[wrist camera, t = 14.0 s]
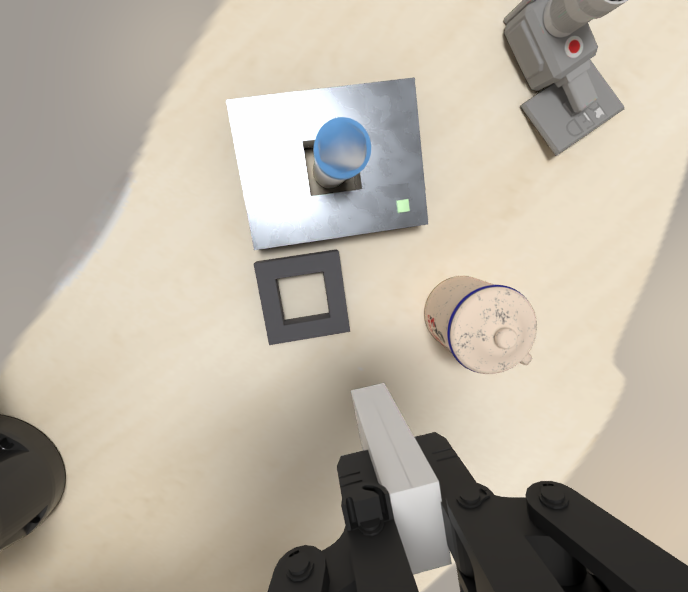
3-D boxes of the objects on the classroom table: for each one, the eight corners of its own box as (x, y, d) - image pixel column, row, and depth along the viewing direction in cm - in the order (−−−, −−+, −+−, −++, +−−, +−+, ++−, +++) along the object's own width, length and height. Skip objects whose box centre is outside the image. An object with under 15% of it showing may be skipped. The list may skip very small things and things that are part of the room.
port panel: (258, 247, 43) (253, 250, 38) (233, 111, 40) (225, 98, 36) (417, 223, 44) (429, 224, 40) (403, 91, 41) (415, 76, 37)
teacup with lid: (406, 319, 46) (440, 351, 35) (454, 257, 45) (505, 270, 34) (478, 373, 48) (533, 420, 37) (525, 316, 48) (595, 346, 36)
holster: (271, 338, 45) (269, 345, 42) (256, 261, 43) (253, 263, 40) (347, 325, 45) (350, 331, 43) (336, 249, 44) (338, 251, 41)
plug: (313, 193, 42) (318, 181, 29) (307, 153, 41) (309, 121, 28) (351, 188, 42) (374, 173, 29) (346, 148, 42) (367, 113, 28)
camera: (649, -104, 29) (714, 80, 33) (550, -15, 41) (606, 115, 44) (553, -37, 29) (628, 139, 33) (481, 33, 41) (543, 158, 44)
